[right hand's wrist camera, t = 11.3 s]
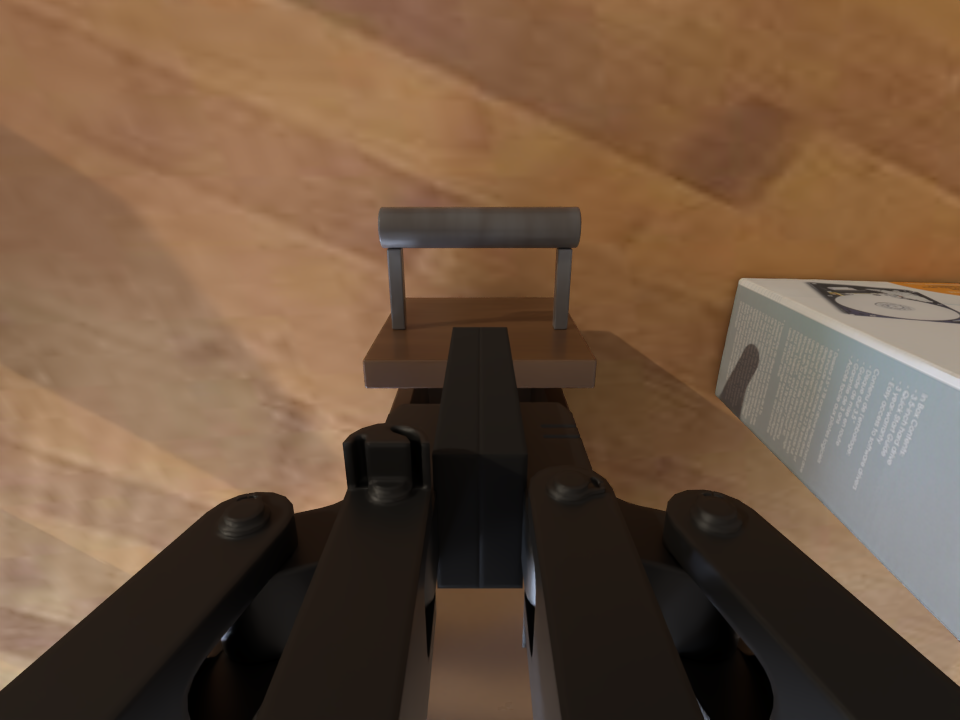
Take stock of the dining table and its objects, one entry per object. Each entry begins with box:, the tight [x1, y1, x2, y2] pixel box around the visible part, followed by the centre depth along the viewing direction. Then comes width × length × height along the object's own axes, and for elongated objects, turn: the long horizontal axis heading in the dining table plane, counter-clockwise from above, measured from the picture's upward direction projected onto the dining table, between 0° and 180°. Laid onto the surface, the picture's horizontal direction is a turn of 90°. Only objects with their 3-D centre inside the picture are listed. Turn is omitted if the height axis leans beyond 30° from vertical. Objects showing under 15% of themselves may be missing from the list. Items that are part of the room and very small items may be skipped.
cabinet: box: [427, 580, 533, 720], centre depth 31 cm, size 22×10×11 cm, turn 0°
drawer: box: [363, 207, 597, 413], centre depth 26 cm, size 26×9×10 cm, turn 0°
